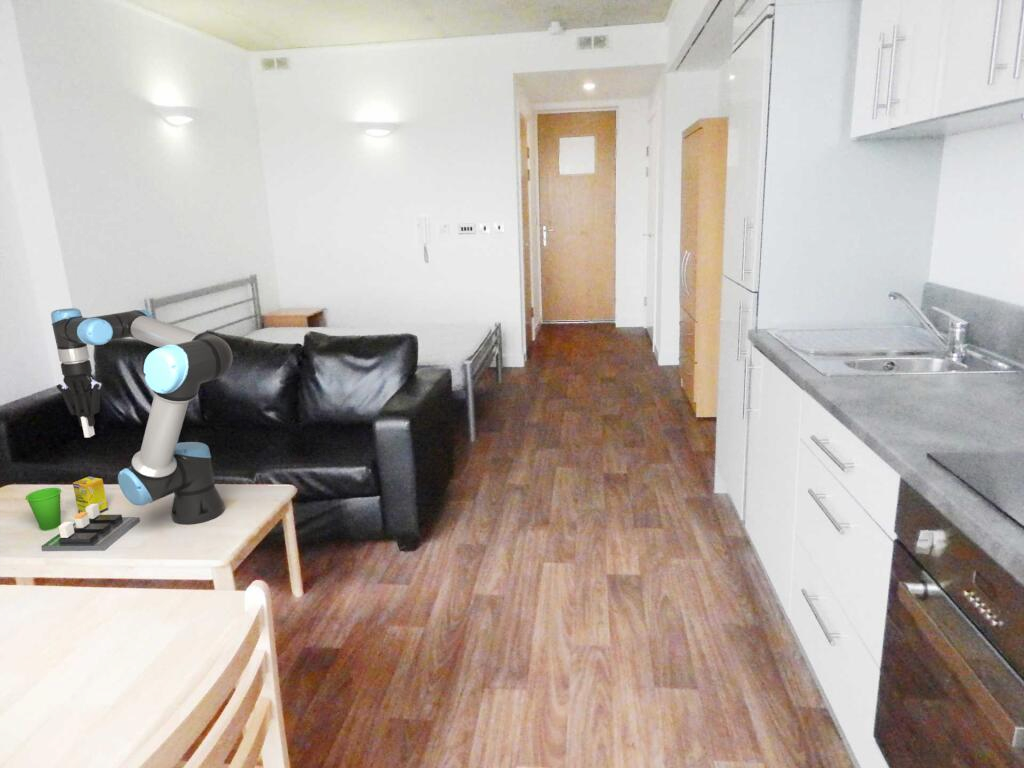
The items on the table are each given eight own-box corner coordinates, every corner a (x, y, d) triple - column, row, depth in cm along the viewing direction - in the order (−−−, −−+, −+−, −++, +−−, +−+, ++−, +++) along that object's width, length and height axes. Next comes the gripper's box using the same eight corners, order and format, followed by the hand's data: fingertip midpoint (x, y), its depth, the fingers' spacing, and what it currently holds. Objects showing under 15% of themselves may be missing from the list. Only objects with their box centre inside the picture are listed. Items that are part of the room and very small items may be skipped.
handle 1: (74, 532, 195) (72, 521, 194) (67, 537, 192) (65, 526, 191) (67, 532, 195) (65, 521, 194) (60, 537, 192) (58, 526, 191)
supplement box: (78, 514, 214) (71, 482, 211) (95, 507, 219) (89, 475, 217) (91, 517, 212) (84, 485, 209) (108, 509, 217) (102, 478, 214)
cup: (50, 534, 201) (43, 500, 198) (25, 532, 203) (17, 499, 200) (75, 521, 209) (68, 488, 207) (50, 519, 211) (43, 486, 208)
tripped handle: (89, 523, 200) (87, 512, 200) (83, 527, 198) (80, 516, 197) (83, 523, 200) (80, 512, 200) (76, 527, 198) (74, 516, 197)
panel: (139, 521, 208) (138, 512, 207) (104, 550, 191) (102, 540, 190) (82, 522, 209) (80, 513, 208) (42, 551, 191) (40, 541, 191)
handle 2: (100, 514, 206) (97, 503, 205) (93, 518, 203) (91, 508, 202) (93, 514, 206) (91, 503, 205) (87, 518, 203) (85, 508, 203)
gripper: (104, 357, 204) (117, 431, 210) (62, 358, 204) (76, 432, 210) (88, 363, 197) (103, 439, 203) (44, 364, 197) (60, 440, 203)
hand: (89, 435), depth 207 cm, fingers closed
